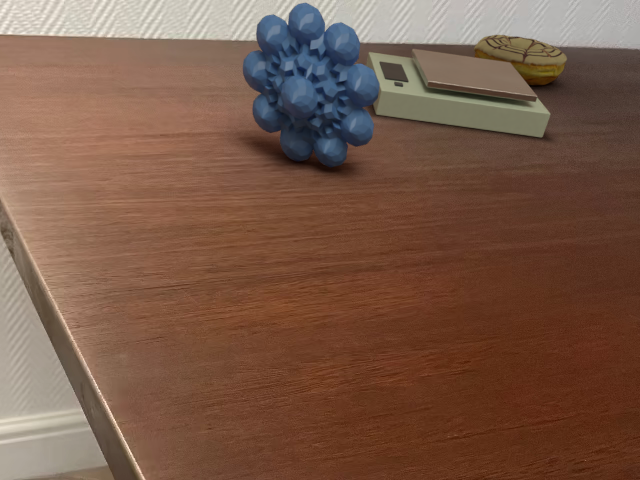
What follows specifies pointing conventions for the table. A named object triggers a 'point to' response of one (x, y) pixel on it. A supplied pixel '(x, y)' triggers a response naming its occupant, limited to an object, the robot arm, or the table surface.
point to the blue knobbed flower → (311, 85)
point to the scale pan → (472, 75)
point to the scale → (449, 101)
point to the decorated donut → (524, 57)
